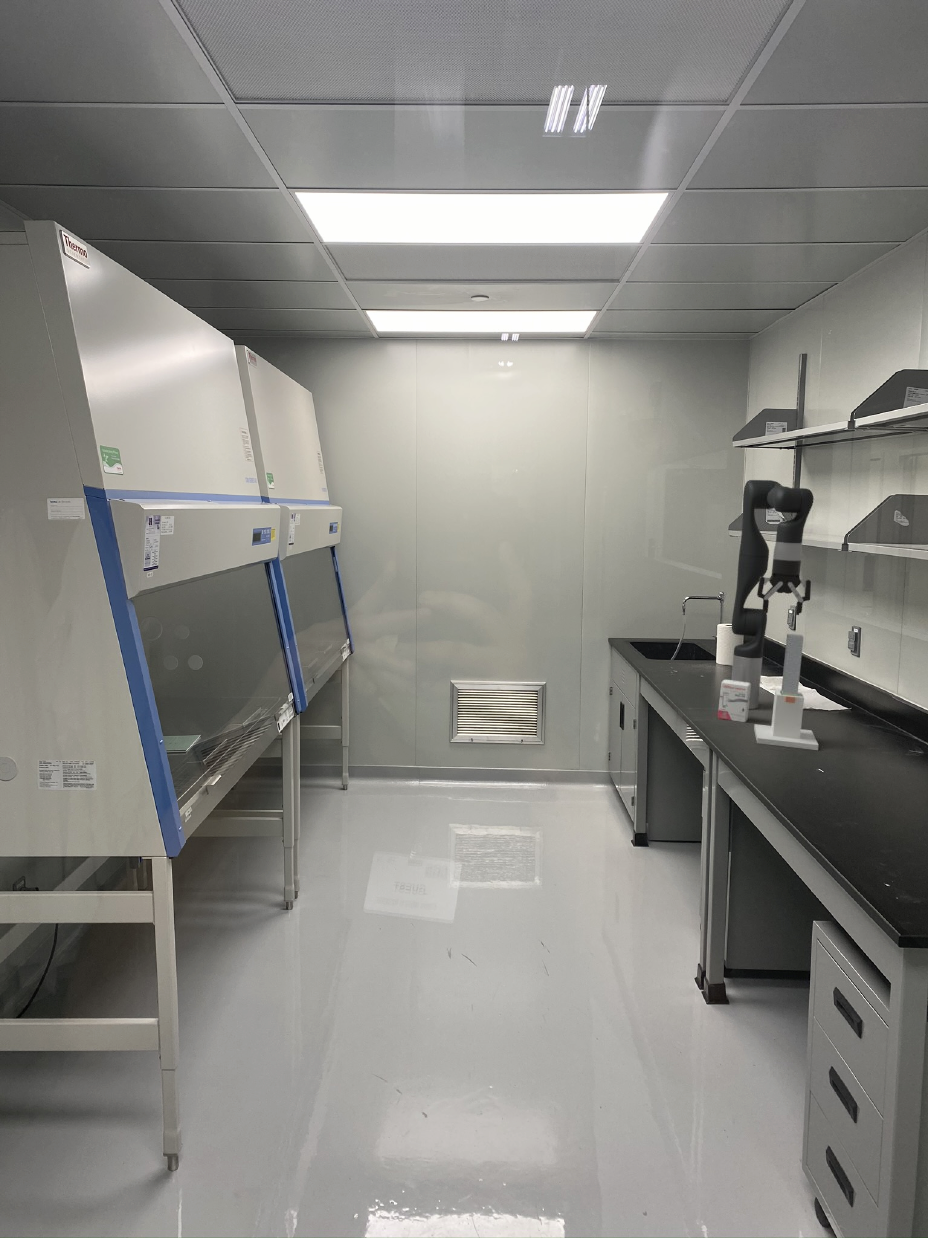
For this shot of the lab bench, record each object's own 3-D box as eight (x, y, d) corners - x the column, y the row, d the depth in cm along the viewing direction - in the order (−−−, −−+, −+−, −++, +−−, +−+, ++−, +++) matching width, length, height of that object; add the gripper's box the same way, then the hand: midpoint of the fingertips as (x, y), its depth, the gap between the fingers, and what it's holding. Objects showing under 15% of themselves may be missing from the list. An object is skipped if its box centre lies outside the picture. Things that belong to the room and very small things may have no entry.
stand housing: (754, 729, 245) (758, 685, 243) (811, 735, 241) (815, 691, 239) (757, 743, 230) (761, 696, 228) (817, 750, 226) (823, 703, 224)
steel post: (779, 708, 237) (786, 633, 234) (794, 709, 236) (802, 635, 232) (780, 711, 233) (788, 635, 230) (796, 713, 232) (803, 637, 228)
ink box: (716, 718, 256) (720, 681, 255) (719, 715, 261) (723, 679, 259) (745, 722, 252) (748, 685, 251) (747, 719, 257) (751, 682, 255)
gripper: (812, 558, 235) (806, 613, 238) (760, 555, 239) (754, 610, 242) (815, 560, 228) (809, 617, 231) (762, 557, 232) (756, 613, 234)
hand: (781, 613), depth 236 cm, fingers open, 8 cm apart
